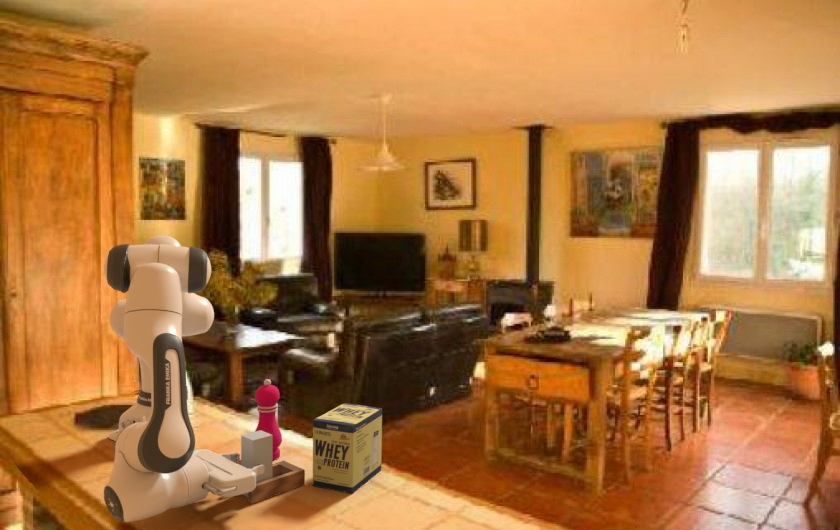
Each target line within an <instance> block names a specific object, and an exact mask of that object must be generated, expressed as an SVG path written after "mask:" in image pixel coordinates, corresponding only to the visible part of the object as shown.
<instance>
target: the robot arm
mask: <svg viewBox="0 0 840 530" xmlns="http://www.w3.org/2000/svg"><path fill="white" fill-rule="evenodd" d="M211 264H212V263H211V261H210V258H209V257H208V253H207V252H206V251H205V250H204V249H202V248H199V247H194V246H190V247H187V246H184V245H183V246H182V245H181V243H180V242H179V241H178V240H177V239H175V238H174V237H172V236H170V235H165V234H160V235H159V234H158V235H154V236H151V237H150V238H148V239H147V240H145V241H144V242H143V244H130V243H124V244H118V245H114V246H113V247H112V248H110V250H109V251H108V253H107V256H106V258H105V260H104V265H103V272H104V277H105V279H106V283H107V285H108V286H109V287H111V288H112V290H115V291H118V292H121V293H123V294H125V293H126V294H127V295H126V298H123V299H119V300H117V302H115V303H114V304H113V305H112V307H111V310H110V312H109V317H108V319H109V326H110V327H111V329H112V332H114V333H115V335H117V336H118V337H120V338H121V339H122V340H124V342H125V343H124V344H125V346H126V348H127V349H128V351H130V352H131V353H132V354H133V355H134V356H135V357H137V358H138V362H139V367H140V377H141V388H140V389H138V390H137V389H136V390H135V391H134V393H135V394H134V395H135V396H137V395H138V396H137V399H136V402H135V403H134V404H132V406H131V407H129V408H128V409H127V410H126V411H124V412H123V413H122V414H121V415H120V417H119V421H118V429H116V430H113V431H112V432H110V434H109V435H108V439H110V440H111V441H114V442H115V443H114V460H113V461H114V462H113V467H112V471H111V474H110V477H109V480H108V482H106V484H105V486H104V488H103V500H104V504H105V507H106V509H107V510H108V512H109V514H110V515H111V516H112V518H114V519H115V520H117V521H120V522H123V523H131V522H136V521H141V520H145V519H149V518H152V517H154V516H158V515H160V514H161V515H162V514H163V513H164V512H166V511H168V510H170V509H173V508H182V507H185V506H189V505H191V504H195V503H197V502H200V501H203V500H205V499H206V498H207V497H208V495H209V492H210V493H211V494H213V495H214V496H215V495H216V496H218V497H220V498H231V497H236V496H240V495H244V494H245V493H248V492H251V491H253V490H254V489H255V488H256V477H257V476H258V475H260V474H263V473H264V471H265V466H264V465H262V464H256V465H254V468H252V469H250V468H249V469H247V468H245V467H243V466H241V464H239V463H238V462H240V461H241V454H240V453H238V452H236V451H233V452H231V453H229V452H228V453H216V452H214V451H212V450H210V449H207V448H203V449H202V448H200V449H195V447H196V438H195V437H196V436H195V432H194V429H193V426H192V423H191V420H190V418H191V417H190V411H189V409H190V408H189V404H188V398H189V396H188V393H189V390H188V385H187V373H186V372H187V371H186V370H187V367H186V355H185V349H184V343H183V339H182V338H183V337H191V336H196V335H200V334H205V333H207V332H208V331H209V330H210V328H211V327H212V325H213V323H214V319H215V312H214V311H215V310H214V307H213V305H212V303H211V302H210V301H209V300H208V298H206V297H204V296H201V295H199V294H196V293H200V292H202V291H203V290H205V288H206V287H207V285H208V283H209V281H210V279H211V274H212V265H211Z"/></svg>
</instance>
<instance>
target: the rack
mask: <svg viewBox="0 0 840 530" xmlns="http://www.w3.org/2000/svg"><path fill="white" fill-rule="evenodd" d="M305 473H306V470H305V469H304V468H301V467H299V466H297V465H295V464H292V463H290V462H288V461H286V460H281V461H278V462H274V463H273V478H271V479H268V480H265V481H262V482H259V483H256V488H255V489H254V490H253V491H251V492H248V497H247V498H248V499H247V501H248V503H249V504H251V505H253V504H255V503H259V502H261V501H263V499H264V500H266V499H265V498H267V499H269V498H268V497H270V498H272V497H275V496H277V495H276V494H278V495H280V494H279V493H281V494H283V493H286V492H288V490H289V491H291V489H292V490H294V488H295V489H297V488H299V487H302V486H306V484H305V483H306V482H305V481H306V480H305V476H306V475H305ZM285 491H286V492H285ZM282 492H283V493H282ZM274 495H275V496H274ZM271 496H272V497H271Z"/></svg>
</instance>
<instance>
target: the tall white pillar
mask: <svg viewBox="0 0 840 530" xmlns="http://www.w3.org/2000/svg"><path fill="white" fill-rule="evenodd" d="M240 436H241V437H240V438H241V439H240V440H241V441H240V447H241V450H240V453H241V454H240V461H241V462H240V465H241V466H243V467H245V468H247V469H249V468H250V469H252V468H254V465H256V464H262V465H264V466H265V471H264V473H263V474H260V475H258V476H257V477H256V483H259V482H262V481H265V480H268V479H271V478H273V464H274V463H273V461H274V460H273V435H271V434H269V433H266V432H264V431H261V430H260V431H256V432H255V431H253V432H249V433H248V432H247V433H245V434H242V435H240ZM243 495H244V496H246V497H247V498H248V493H245V494H243Z"/></svg>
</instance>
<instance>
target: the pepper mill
mask: <svg viewBox="0 0 840 530" xmlns="http://www.w3.org/2000/svg"><path fill="white" fill-rule="evenodd" d="M254 398H255V401H256V402H257V405H256V406H257V408H256V410H257V412H258V422H257V426H256V429H255V430H254V432H256V431H260V430H261V431H264V432H266V433H269V434H271V435H273V461H276V460H277V458H278V459H279V458H280V456H281V448H280V445H281V444H282V442H283V436H282V432H281V429H280V428H279V427H280V426H279V425H278V422H277V417H276V413H277V410H278V409H279V408H278V403H277V402H279V400H280V390H279V389H278V387H276V386H275V385H273V384H272V381H271V379H268V378H266V379H264V380H263V385H260V386H259V387H258V388H257V389H256V391H255V395H254ZM275 459H276V460H275Z"/></svg>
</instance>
